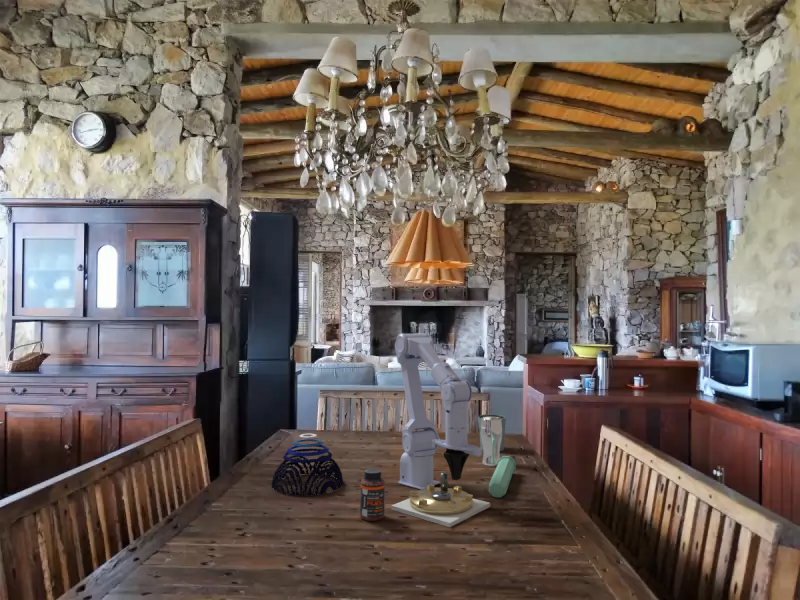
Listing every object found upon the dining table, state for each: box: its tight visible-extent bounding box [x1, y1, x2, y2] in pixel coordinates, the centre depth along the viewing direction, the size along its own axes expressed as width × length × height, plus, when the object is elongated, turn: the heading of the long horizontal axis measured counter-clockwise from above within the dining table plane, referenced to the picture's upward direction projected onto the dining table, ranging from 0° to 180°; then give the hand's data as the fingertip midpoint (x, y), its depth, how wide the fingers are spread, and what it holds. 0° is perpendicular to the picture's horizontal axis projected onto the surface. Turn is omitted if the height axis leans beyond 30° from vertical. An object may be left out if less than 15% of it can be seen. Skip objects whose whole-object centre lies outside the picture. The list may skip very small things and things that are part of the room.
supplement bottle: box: [359, 468, 386, 522], centre depth 132 cm, size 6×6×11 cm
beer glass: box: [481, 416, 502, 467], centre depth 181 cm, size 7×7×15 cm
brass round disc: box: [409, 471, 474, 515], centre depth 139 cm, size 16×16×6 cm
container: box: [488, 455, 517, 498], centre depth 158 cm, size 6×6×25 cm
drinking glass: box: [477, 413, 507, 452], centre depth 200 cm, size 10×10×12 cm
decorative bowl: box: [271, 433, 344, 496], centre depth 158 cm, size 20×20×14 cm
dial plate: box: [391, 497, 491, 528], centre depth 139 cm, size 18×18×1 cm
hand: (456, 479), depth 142 cm, fingers closed
